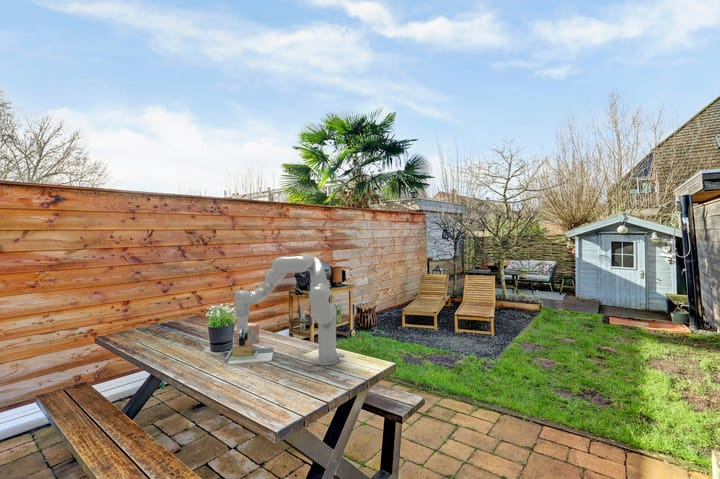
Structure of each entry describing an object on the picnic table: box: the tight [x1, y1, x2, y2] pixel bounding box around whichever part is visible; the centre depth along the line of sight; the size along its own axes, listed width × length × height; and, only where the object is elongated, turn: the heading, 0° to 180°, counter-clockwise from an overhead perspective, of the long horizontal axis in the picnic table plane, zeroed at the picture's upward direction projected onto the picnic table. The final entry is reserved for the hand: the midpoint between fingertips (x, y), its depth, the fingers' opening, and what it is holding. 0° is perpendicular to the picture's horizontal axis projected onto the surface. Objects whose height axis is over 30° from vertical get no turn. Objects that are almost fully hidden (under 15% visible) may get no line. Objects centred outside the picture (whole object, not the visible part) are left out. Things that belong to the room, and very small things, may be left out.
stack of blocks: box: [233, 322, 260, 345], centre depth 218 cm, size 21×6×12 cm, turn 86°
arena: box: [224, 346, 274, 365], centre depth 190 cm, size 24×14×3 cm, turn 100°
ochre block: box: [232, 344, 254, 357], centre depth 191 cm, size 5×10×6 cm, turn 101°
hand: (243, 342), depth 191 cm, fingers open, 9 cm apart
